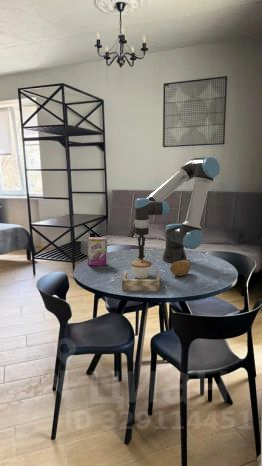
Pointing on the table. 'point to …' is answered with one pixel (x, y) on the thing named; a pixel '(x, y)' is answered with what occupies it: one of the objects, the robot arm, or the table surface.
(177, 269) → the potato
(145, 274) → the lidded jar
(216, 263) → the table surface
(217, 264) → the table surface
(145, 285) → the bay
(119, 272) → the table surface
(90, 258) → the candy bar box
